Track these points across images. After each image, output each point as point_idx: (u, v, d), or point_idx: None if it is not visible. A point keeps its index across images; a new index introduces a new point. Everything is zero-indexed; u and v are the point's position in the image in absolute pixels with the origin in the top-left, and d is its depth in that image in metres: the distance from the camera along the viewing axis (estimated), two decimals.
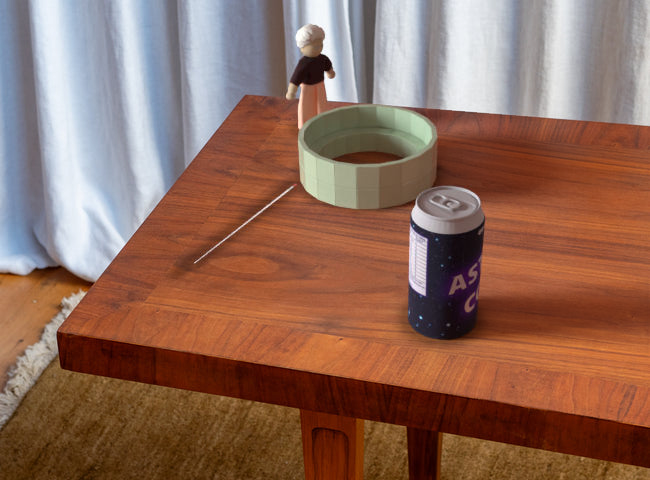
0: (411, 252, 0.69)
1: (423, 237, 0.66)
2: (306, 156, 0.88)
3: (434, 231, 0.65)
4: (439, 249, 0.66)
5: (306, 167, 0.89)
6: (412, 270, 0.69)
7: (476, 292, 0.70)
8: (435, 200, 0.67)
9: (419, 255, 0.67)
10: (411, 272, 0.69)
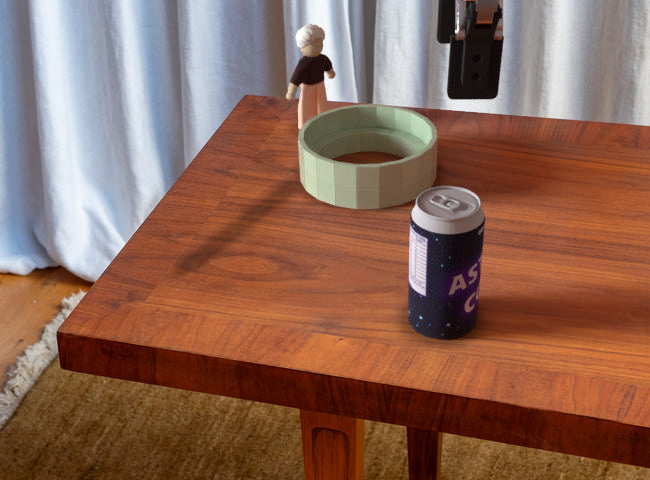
0: (411, 252, 0.69)
1: (423, 237, 0.66)
2: (306, 156, 0.88)
3: (434, 231, 0.65)
4: (439, 249, 0.66)
5: (306, 167, 0.89)
6: (412, 270, 0.69)
7: (476, 292, 0.70)
8: (435, 200, 0.67)
9: (419, 255, 0.67)
10: (411, 272, 0.69)
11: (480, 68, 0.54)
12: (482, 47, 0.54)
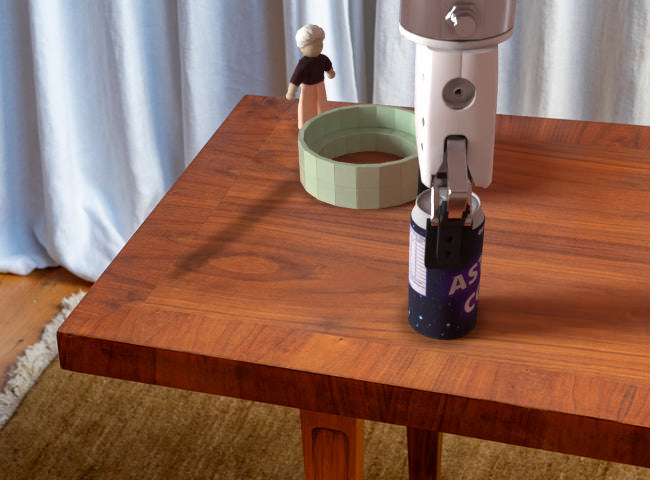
0: (411, 252, 0.69)
1: (423, 237, 0.66)
2: (306, 156, 0.88)
3: None
4: None
5: (306, 167, 0.89)
6: (412, 270, 0.69)
7: (476, 292, 0.70)
8: None
9: (419, 255, 0.67)
10: (411, 272, 0.69)
11: (452, 247, 0.62)
12: (454, 231, 0.61)
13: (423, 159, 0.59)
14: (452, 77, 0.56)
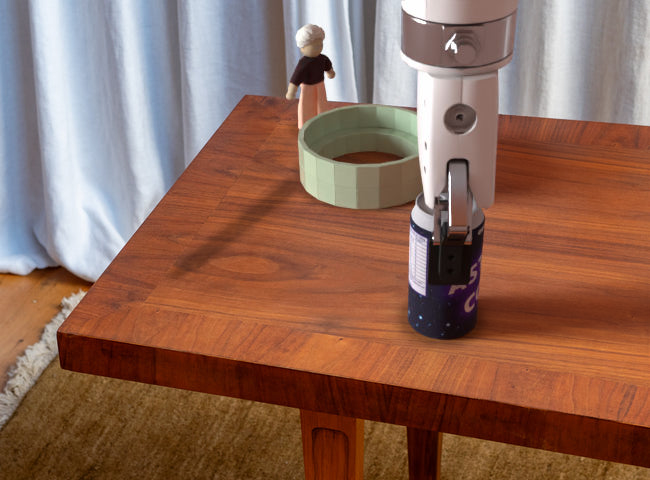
0: (411, 252, 0.69)
1: (422, 237, 0.66)
2: (306, 156, 0.88)
3: None
4: None
5: (306, 167, 0.89)
6: (411, 270, 0.69)
7: (476, 292, 0.70)
8: None
9: (419, 255, 0.67)
10: (411, 272, 0.69)
11: (454, 265, 0.65)
12: (455, 250, 0.64)
13: (426, 182, 0.60)
14: (453, 103, 0.57)
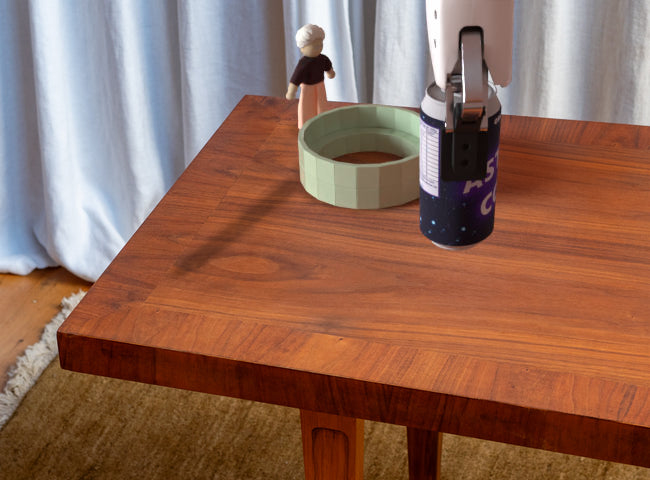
0: (421, 148, 0.63)
1: (434, 128, 0.61)
2: (306, 156, 0.88)
3: None
4: None
5: (306, 167, 0.89)
6: (423, 170, 0.64)
7: (493, 192, 0.65)
8: None
9: (430, 150, 0.62)
10: (422, 172, 0.64)
11: (469, 155, 0.60)
12: (470, 137, 0.59)
13: (437, 57, 0.55)
14: None
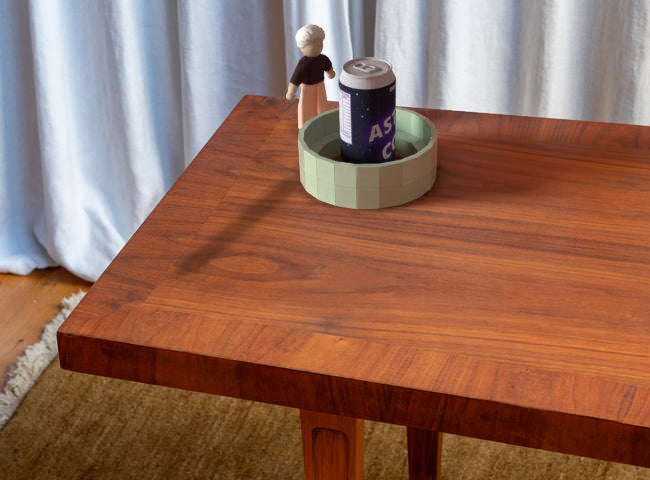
0: (340, 109, 0.88)
1: (347, 93, 0.86)
2: (306, 156, 0.88)
3: (355, 87, 0.85)
4: (359, 103, 0.85)
5: (306, 167, 0.89)
6: (341, 124, 0.89)
7: (392, 142, 0.89)
8: (357, 66, 0.87)
9: (345, 109, 0.87)
10: (341, 126, 0.89)
11: None
12: None
13: None
14: None
